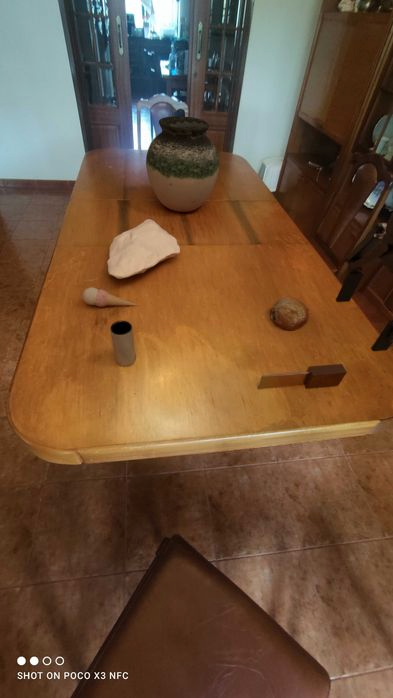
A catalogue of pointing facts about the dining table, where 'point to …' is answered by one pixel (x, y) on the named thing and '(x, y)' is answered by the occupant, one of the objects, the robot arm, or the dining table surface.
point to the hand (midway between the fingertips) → (359, 323)
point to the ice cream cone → (103, 298)
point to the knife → (306, 377)
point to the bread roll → (289, 314)
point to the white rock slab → (140, 249)
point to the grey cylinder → (123, 343)
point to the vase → (182, 163)
